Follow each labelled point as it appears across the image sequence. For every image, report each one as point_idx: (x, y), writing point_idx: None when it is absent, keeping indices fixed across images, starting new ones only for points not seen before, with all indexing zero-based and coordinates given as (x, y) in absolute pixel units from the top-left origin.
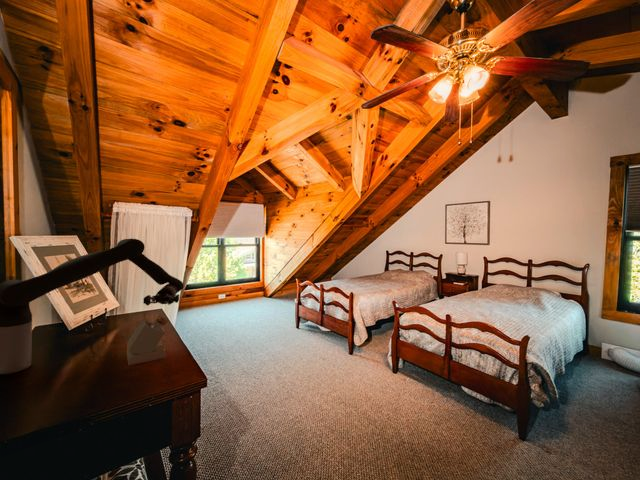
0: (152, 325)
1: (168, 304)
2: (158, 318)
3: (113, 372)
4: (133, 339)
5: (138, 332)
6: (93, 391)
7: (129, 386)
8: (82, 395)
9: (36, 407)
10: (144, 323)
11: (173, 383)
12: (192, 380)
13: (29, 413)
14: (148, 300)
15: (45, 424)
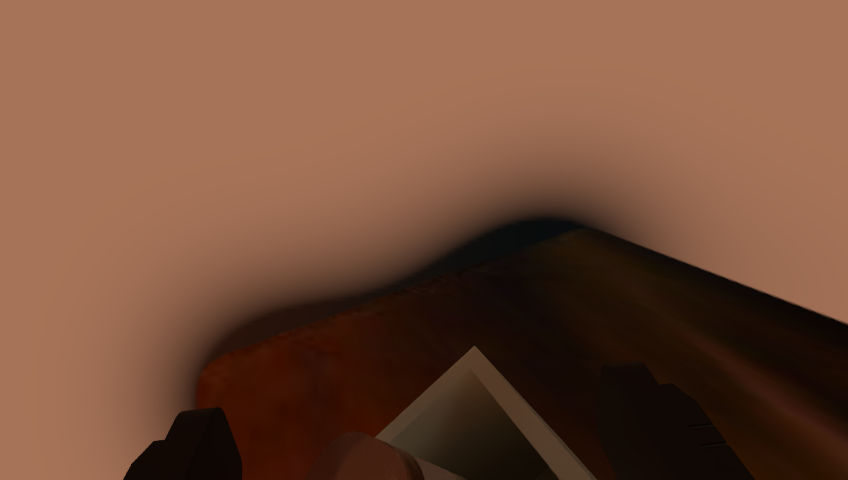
0: (456, 477)
1: (235, 467)
2: (394, 448)
3: (578, 431)
4: (572, 453)
5: (538, 416)
6: (547, 324)
7: (442, 341)
8: (564, 311)
9: (642, 278)
10: (506, 388)
11: (297, 350)
12: (230, 362)
13: (632, 265)
14: (616, 369)
15: (552, 245)
